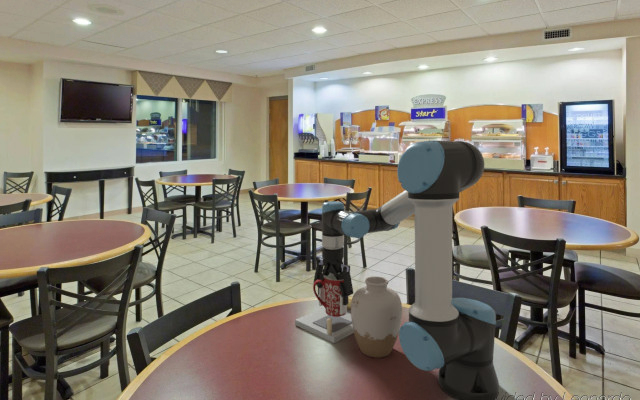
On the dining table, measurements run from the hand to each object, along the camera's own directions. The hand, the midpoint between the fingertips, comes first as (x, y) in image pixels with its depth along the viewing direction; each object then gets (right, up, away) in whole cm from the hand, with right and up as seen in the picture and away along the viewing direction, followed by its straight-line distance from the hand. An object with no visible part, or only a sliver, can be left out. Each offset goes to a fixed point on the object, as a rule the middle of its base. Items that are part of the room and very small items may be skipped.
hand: (332, 308), depth 134 cm
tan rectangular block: (+8, -4, +11) cm, 14 cm away
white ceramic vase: (+13, -9, -13) cm, 21 cm away
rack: (+1, -7, +5) cm, 8 cm away
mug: (-1, -2, +1) cm, 2 cm away
